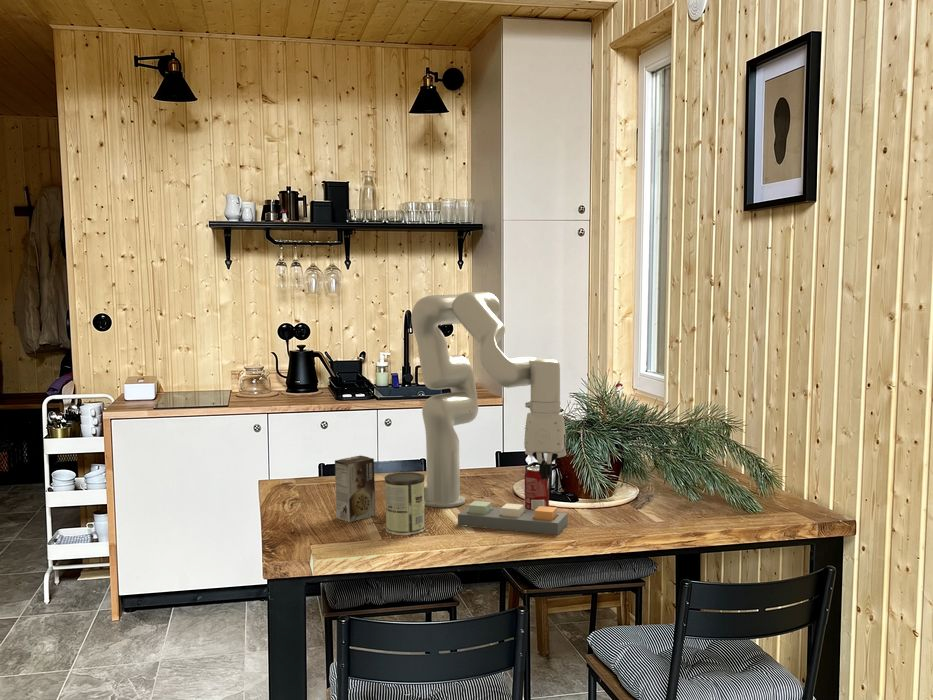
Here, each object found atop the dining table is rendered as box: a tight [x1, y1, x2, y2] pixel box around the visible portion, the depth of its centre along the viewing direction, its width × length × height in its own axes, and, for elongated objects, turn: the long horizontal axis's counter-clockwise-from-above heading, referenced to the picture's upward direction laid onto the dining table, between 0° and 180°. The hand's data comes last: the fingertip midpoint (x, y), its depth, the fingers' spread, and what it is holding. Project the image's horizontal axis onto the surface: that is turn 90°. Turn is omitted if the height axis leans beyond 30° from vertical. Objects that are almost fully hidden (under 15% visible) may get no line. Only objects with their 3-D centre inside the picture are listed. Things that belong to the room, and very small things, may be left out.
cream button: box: [500, 502, 525, 517], centre depth 232 cm, size 5×5×2 cm
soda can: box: [524, 465, 550, 510], centre depth 246 cm, size 7×7×12 cm
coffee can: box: [384, 471, 426, 535], centre depth 228 cm, size 10×10×14 cm
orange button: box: [534, 506, 558, 520], centre depth 229 cm, size 5×5×2 cm
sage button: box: [468, 500, 493, 515], centre depth 235 cm, size 5×5×2 cm
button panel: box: [457, 506, 568, 536], centre depth 232 cm, size 27×10×3 cm, turn 70°
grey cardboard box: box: [334, 455, 377, 523], centre depth 241 cm, size 9×6×16 cm
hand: (545, 477), depth 228 cm, fingers closed
